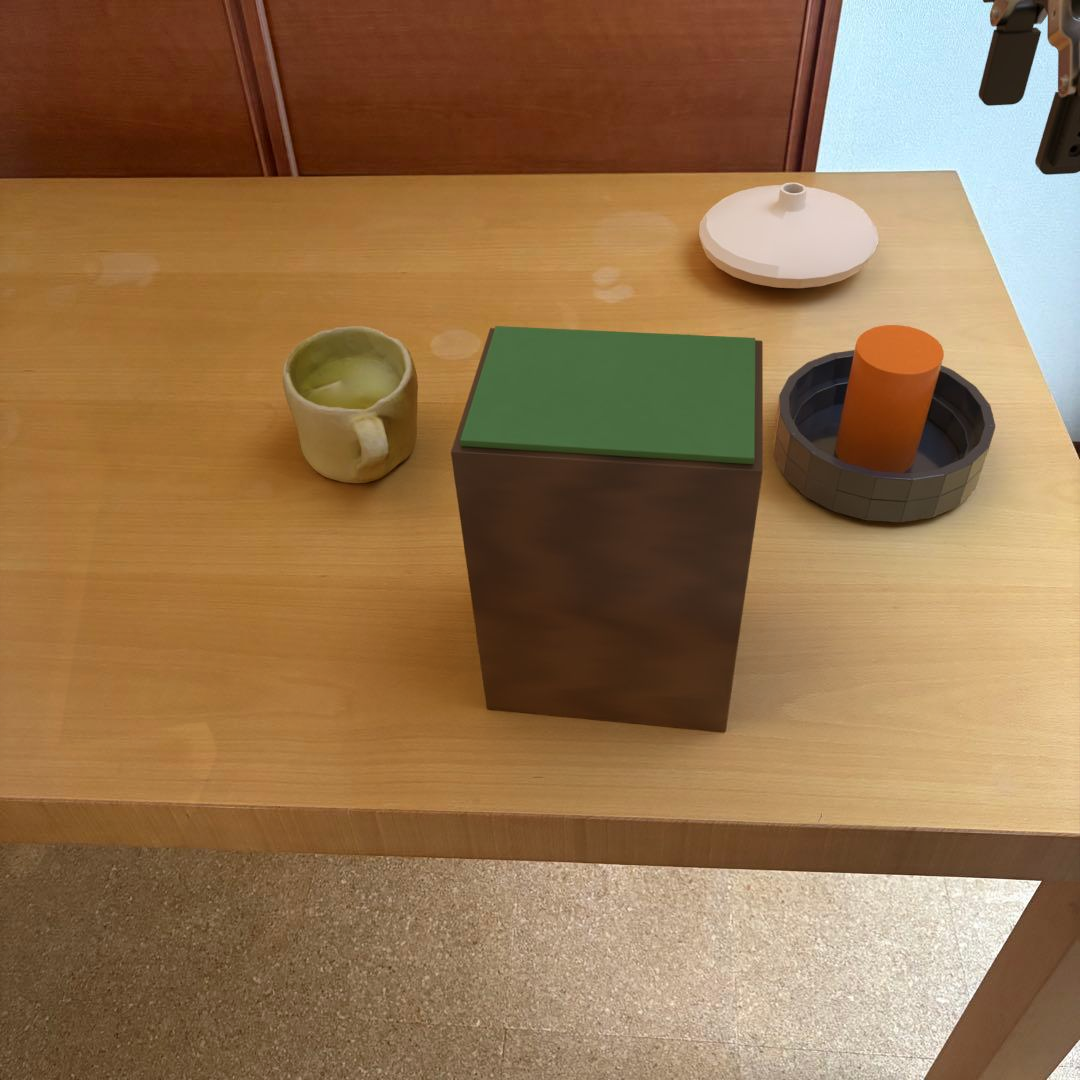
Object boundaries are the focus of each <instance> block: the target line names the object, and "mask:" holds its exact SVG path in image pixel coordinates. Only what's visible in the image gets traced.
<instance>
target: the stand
mask: <svg viewBox="0 0 1080 1080" xmlns="http://www.w3.org/2000/svg"><path fill="white" fill-rule="evenodd" d="M494 330H495V327H490V328H489V331H488V333H487V336H486V339H485V343H484V347H483V350H482V352H481V356H480V359H479V362H478V365H477V368H476V372H475V375H474V377H473V381H472V384H471V387H470V390H469V393H468V397H467V400H466V403H465V406H464V409H463V413H462V416H461V418H460V422H459V425H458V428H457V431H456V434H455V437H454V441H453V444H452V447H451V450H450V456H451V465H452V471H453V477H454V478H453V479H454V485H455V492H456V499H457V507H458V514H459V520H460V521H459V522H460V528H461V536H462V542H463V550H464V556H465V557H464V558H465V563H466V570H467V571H466V572H467V578H468V585H469V591H470V592H469V593H470V599H471V600H470V601H471V606H472V613H473V621H474V628H475V635H476V642H477V649H478V656H479V665H480V671H481V676H482V677H481V678H482V686H483V693H484V699H485V706H486V707H485V708H486V709H487V710H492V711H502V712H503V711H504V712H514V713H524V714H525V713H526V714H534V715H543V716H544V715H546V716H555V717H564V718H565V717H567V718H575V719H584V720H585V719H586V720H597V721H607V722H617V723H618V722H619V723H627V724H637V725H638V724H639V725H647V726H648V725H649V726H656V727H657V726H658V727H669V728H679V729H690V730H699V731H708V732H709V731H711V732H720V733H726V732H727V726H728V718H729V712H730V704H731V698H732V691H733V684H734V675H735V669H736V663H737V656H738V649H739V643H740V634H741V628H742V621H743V614H744V608H745V607H744V606H745V599H746V592H747V586H748V578H749V572H750V571H749V570H750V564H751V557H752V550H753V544H754V538H755V537H754V536H755V529H756V521H757V515H758V510H759V509H758V507H759V500H760V496H761V495H760V494H761V487H762V481H763V474H764V422H763V421H764V416H763V414H764V410H763V409H764V402H763V401H764V400H763V399H764V397H763V396H764V393H763V391H764V390H763V389H764V387H763V385H764V384H763V383H764V382H763V381H764V379H763V378H764V377H763V376H764V373H763V372H764V371H763V370H764V367H763V366H764V360H763V359H764V357H763V353H764V352H763V349H764V347H763V345H764V342H763V340H759V339H758V340H757V339H755V458H754V464H738V463H722V462H706V461H690V460H674V459H658V458H641V457H625V456H609V455H593V454H577V453H561V452H545V451H529V450H513V449H497V448H481V447H465V446H461V444H460V439H461V435H462V432H463V429H464V426H465V423H466V419H467V416H468V413H469V410H470V407H471V403H472V400H473V397H474V394H475V391H476V387H477V384H478V381H479V378H480V375H481V371H482V368H483V365H484V362H485V359H486V355H487V352H488V349H489V346H490V343H491V339H492V336H493V333H494Z"/></svg>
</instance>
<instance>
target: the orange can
mask: <svg viewBox="0 0 1080 1080" xmlns="http://www.w3.org/2000/svg"><path fill="white" fill-rule="evenodd" d="M855 343H856V344H855V347H854V350H855V351H854V356H853V361H852V366H851V371H850V376H849V381H848V386H847V391H846V395H845V400H844V405H843V410H842V415H841V420H840V425H839V430H838V435H837V440H836V445H835V452H836V455H837V457H838V459H839V460H841V461H843V462H845V463H849V464H852V465H856V466H860V467H864V468H867V469H871V470H875V471H884V472H900V473H905V472H906V471H908V470H909V469H910V468H911V467H912V465H913V464H914V461H915V458H916V454H917V451H918V447H919V444H920V440H921V436H922V433H923V429H924V426H925V422H926V418H927V415H928V411H929V408H930V404H931V400H932V397H933V393H934V390H935V386H936V382H937V379H938V375H939V372H940V368H941V365H943V360H944V356H945V351H944V348H943V346H942V344H941V343H940V341H939V340H938V339H936V338H935V337H934V336H933V335H931V334H930V333H928V332H926V331H924V330H922V329H918V328H915V327H913V326H908V325H901V324H883V325H879V326H875V327H872V328H869V329H867V330H865V331H864V332H862V333H861V334H860V335H859V336H858V337H857V339H856V342H855Z"/></svg>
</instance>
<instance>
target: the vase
mask: <svg viewBox="0 0 1080 1080" xmlns="http://www.w3.org/2000/svg"><path fill="white" fill-rule="evenodd" d="M698 236H699V237H698V238H699V241H700V244H701V247H702V248H703V251H704V253H705V255H706V258H707V259H708V260H709V261H711V263H712V264H714V265H715V267H717V268H718V269H719V270H721V271H723V272H725V273H727V274H728V275H730V276H732V277H734V278H735V279H736V278H737V279H739V280H743V281H745V282H748V283H751V284H754V285H760V286H767V287H772V288H778V289H779V288H781V289H782V288H784V289H805V288H806V289H807V288H816V287H824V286H826V285H827V286H828V285H831V284H834V283H837V282H838V283H839V282H841V281H844V280H846V279H848V278H850V277H852V276H854V275H855V274H857V273H859V272H860V271H861V270H862V269H863V268H864V267H865V266H867V264H868V263H869V262H870V260H871V258H872V256H873V255H874V253H875V251H876V249H877V245H878V244H879V240H880V239H879V233H878V228H877V227H876V225H875V223H874V222H873V221H872V219H871V218H870V216H869V215H868V214H867V212H866V211H865V210H864V209H863V208H862V207H861V206H859V205H858V204H857V203H856V202H854V201H852V200H851V199H848V198H846V197H844V196H842V195H839V194H838V193H835V192H831V191H827V190H824V189H821V188H817V187H811V186H806V185H804V184H803V183H799V182H786V183H784V184H773V185H764V186H755V187H752V188H747V189H744V190H740V191H737V192H734V193H732V194H729V195H728V196H726V197H723V198H722V199H720V200H719V201H718V202H717V203H715V204H714V205H713V206H712V207H710V209H708V210H707V212H706V213H705V214H704V215H703V217H702V219H701V220H700V223H699V229H698Z"/></svg>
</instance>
